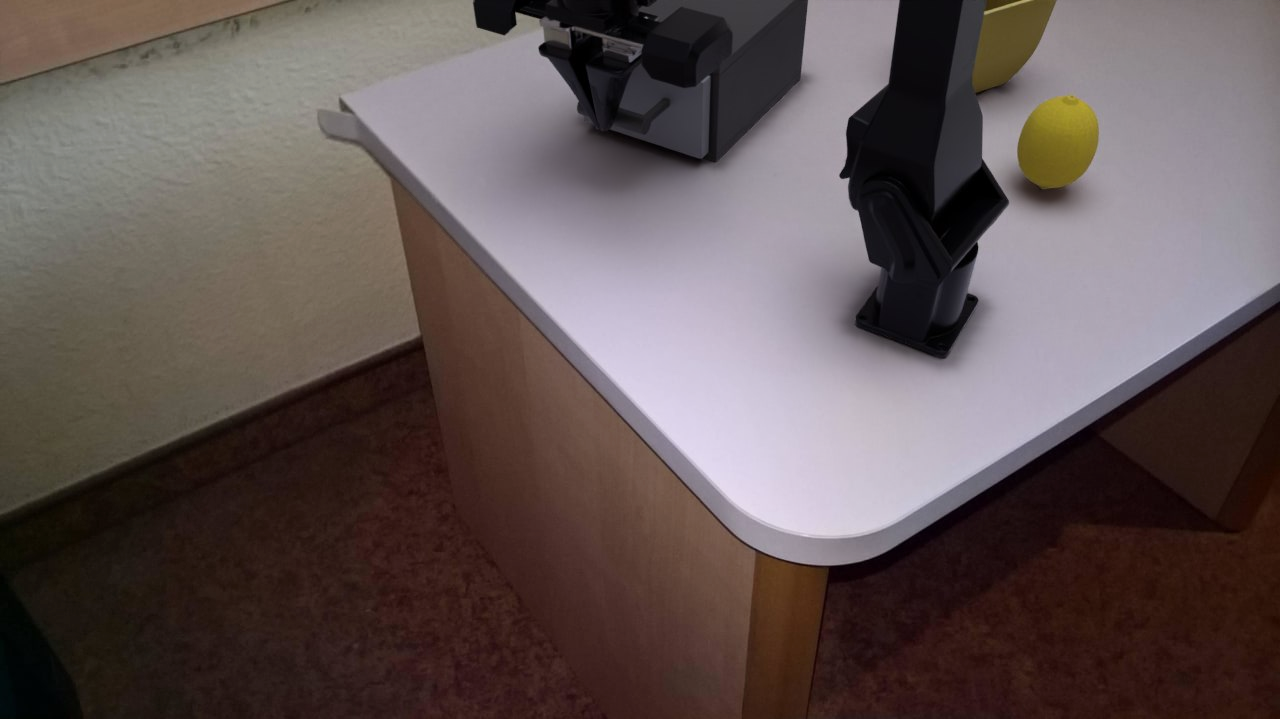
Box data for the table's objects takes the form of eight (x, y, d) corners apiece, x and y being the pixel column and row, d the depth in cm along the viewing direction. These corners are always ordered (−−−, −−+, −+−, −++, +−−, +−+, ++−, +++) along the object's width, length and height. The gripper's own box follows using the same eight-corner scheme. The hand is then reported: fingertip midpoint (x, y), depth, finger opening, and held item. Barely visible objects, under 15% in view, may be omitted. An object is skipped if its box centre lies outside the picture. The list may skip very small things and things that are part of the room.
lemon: (995, 193, 80) (1020, 101, 74) (1023, 160, 83) (1049, 69, 77) (1065, 217, 77) (1096, 125, 72) (1091, 183, 80) (1123, 91, 75)
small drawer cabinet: (716, 162, 83) (719, 65, 77) (588, 120, 88) (582, 26, 82) (800, 78, 93) (809, -14, 87) (680, 45, 98) (681, -45, 92)
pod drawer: (672, 187, 79) (672, 110, 75) (552, 146, 84) (545, 70, 79) (782, 80, 91) (789, 6, 86) (672, 49, 95) (672, -23, 90)
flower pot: (894, 70, 93) (910, -27, 87) (970, 47, 96) (991, -49, 90) (958, 114, 88) (980, 14, 81) (1036, 88, 90) (1063, -10, 84)
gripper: (776, -94, 69) (761, 111, 80) (549, -140, 76) (565, 54, 87) (693, -32, 62) (690, 183, 73) (454, -90, 69) (483, 114, 80)
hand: (604, 127), depth 79 cm, fingers closed, pressing on pod drawer
